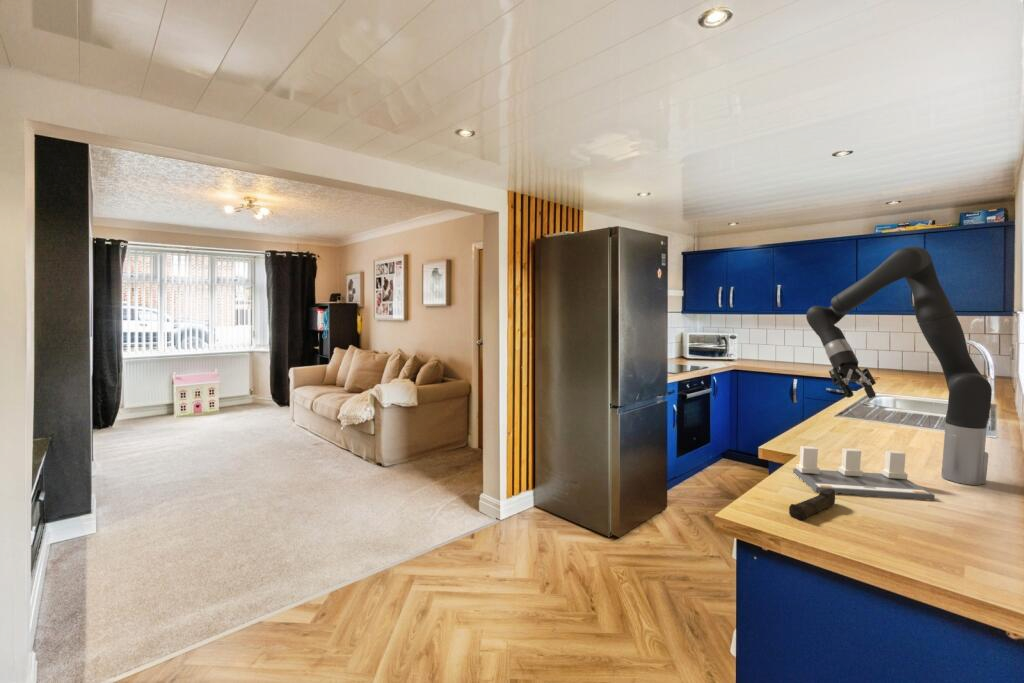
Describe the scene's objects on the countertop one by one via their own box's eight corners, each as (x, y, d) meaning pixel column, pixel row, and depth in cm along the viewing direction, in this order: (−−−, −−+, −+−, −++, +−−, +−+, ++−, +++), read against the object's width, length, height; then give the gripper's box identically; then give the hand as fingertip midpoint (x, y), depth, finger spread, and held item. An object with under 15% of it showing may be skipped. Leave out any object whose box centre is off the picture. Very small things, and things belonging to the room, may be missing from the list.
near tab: (898, 474, 148) (900, 450, 147) (907, 479, 144) (909, 454, 143) (880, 473, 149) (882, 449, 148) (888, 477, 145) (890, 453, 144)
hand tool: (803, 523, 119) (805, 505, 119) (787, 517, 123) (789, 499, 122) (845, 508, 128) (846, 491, 128) (829, 502, 132) (830, 486, 131)
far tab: (813, 469, 152) (815, 446, 151) (819, 473, 148) (820, 449, 147) (796, 468, 153) (797, 445, 152) (801, 472, 149) (803, 449, 148)
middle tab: (855, 471, 150) (857, 448, 149) (862, 476, 146) (864, 452, 145) (838, 470, 151) (839, 447, 150) (844, 475, 147) (846, 451, 146)
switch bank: (898, 479, 149) (898, 474, 149) (934, 500, 133) (934, 494, 133) (793, 473, 154) (793, 467, 154) (815, 492, 138) (816, 486, 138)
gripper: (830, 348, 164) (851, 391, 155) (866, 350, 167) (889, 392, 158) (815, 359, 170) (834, 401, 162) (850, 360, 173) (870, 402, 164)
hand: (861, 397), depth 160 cm, fingers open, 8 cm apart
